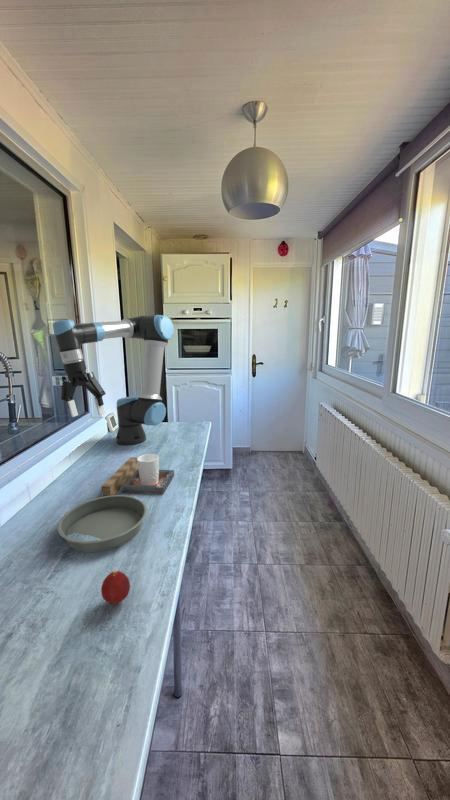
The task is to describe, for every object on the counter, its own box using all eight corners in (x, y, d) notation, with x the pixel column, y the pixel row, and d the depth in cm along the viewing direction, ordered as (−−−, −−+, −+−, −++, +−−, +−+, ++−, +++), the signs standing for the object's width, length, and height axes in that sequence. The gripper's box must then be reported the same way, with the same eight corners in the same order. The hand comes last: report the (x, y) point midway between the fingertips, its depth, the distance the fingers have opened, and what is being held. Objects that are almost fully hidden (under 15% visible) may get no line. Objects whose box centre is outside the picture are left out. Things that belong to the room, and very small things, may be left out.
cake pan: (63, 516, 106) (61, 503, 105) (142, 501, 115) (141, 489, 114) (54, 567, 84) (52, 551, 83) (153, 543, 92) (152, 529, 91)
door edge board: (131, 468, 141) (130, 457, 140) (138, 468, 141) (137, 457, 140) (102, 499, 116) (101, 486, 115) (111, 500, 115) (109, 486, 114)
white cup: (162, 478, 130) (161, 454, 128) (156, 487, 123) (154, 462, 121) (143, 477, 131) (141, 453, 129) (135, 487, 124) (133, 461, 121)
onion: (107, 592, 75) (103, 561, 73) (133, 590, 75) (130, 559, 74) (99, 614, 69) (95, 581, 68) (128, 612, 70) (125, 579, 68)
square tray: (137, 474, 135) (137, 469, 135) (174, 475, 133) (174, 470, 133) (123, 492, 120) (122, 486, 120) (163, 494, 119) (163, 487, 118)
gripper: (41, 367, 128) (57, 420, 133) (92, 359, 119) (106, 416, 123) (57, 364, 135) (71, 414, 140) (106, 356, 126) (119, 410, 130)
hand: (88, 415), depth 132 cm, fingers open, 13 cm apart
